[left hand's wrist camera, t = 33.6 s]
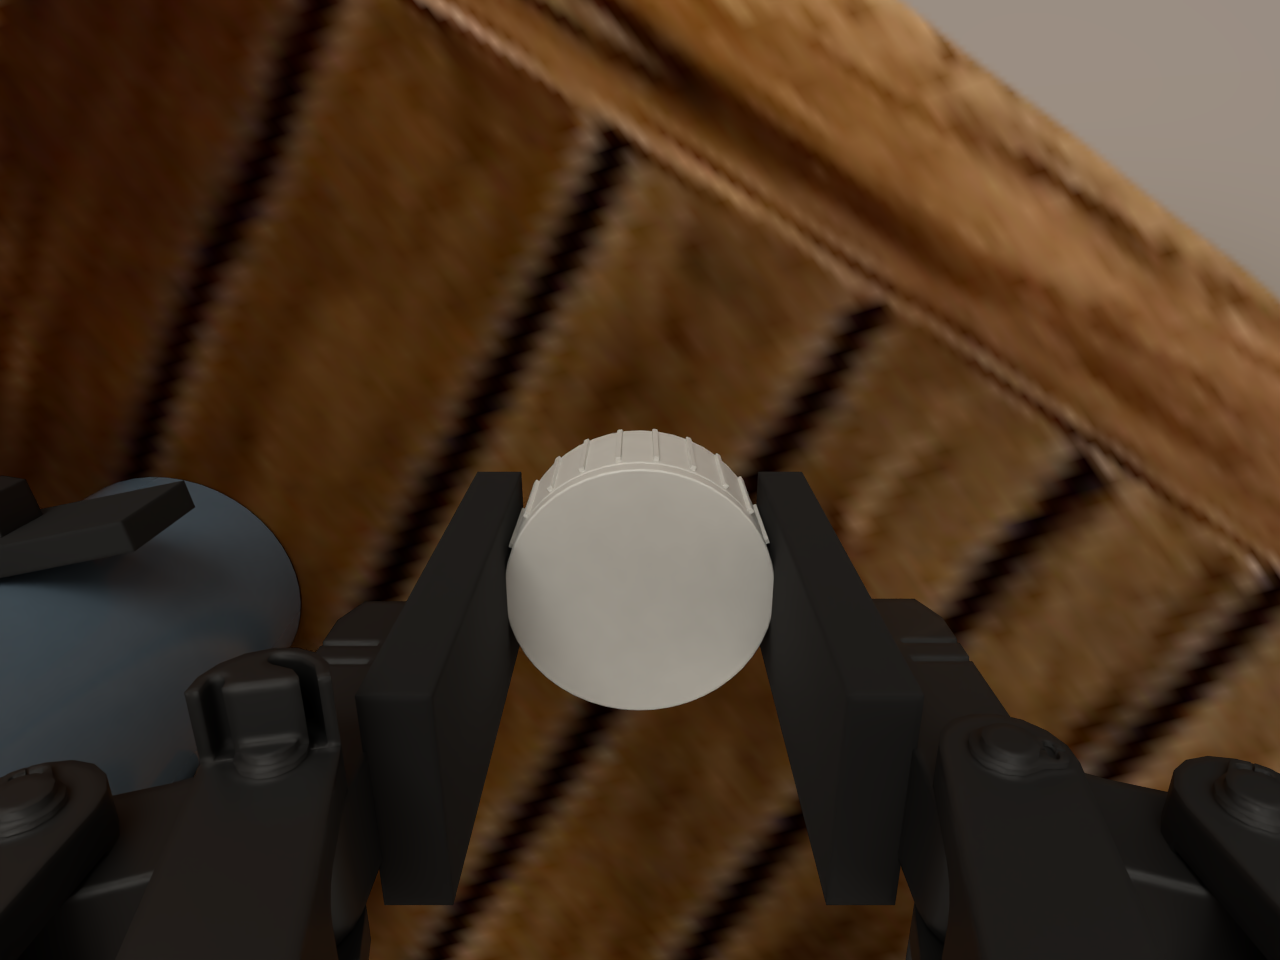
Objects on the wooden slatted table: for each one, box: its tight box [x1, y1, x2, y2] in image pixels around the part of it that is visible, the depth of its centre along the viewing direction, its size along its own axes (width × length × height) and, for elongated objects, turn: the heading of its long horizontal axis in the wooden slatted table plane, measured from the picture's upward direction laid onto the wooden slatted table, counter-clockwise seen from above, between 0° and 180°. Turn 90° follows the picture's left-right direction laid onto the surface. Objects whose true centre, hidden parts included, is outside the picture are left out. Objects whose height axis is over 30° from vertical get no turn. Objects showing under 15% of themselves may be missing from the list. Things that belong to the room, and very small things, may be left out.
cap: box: [506, 429, 774, 710], centre depth 14 cm, size 4×4×2 cm
